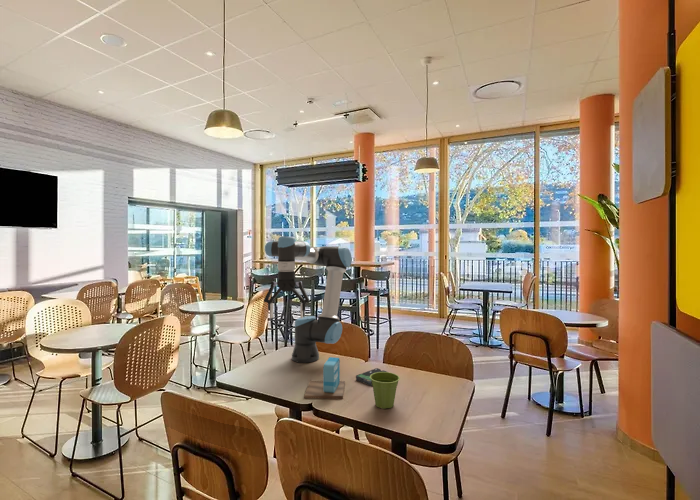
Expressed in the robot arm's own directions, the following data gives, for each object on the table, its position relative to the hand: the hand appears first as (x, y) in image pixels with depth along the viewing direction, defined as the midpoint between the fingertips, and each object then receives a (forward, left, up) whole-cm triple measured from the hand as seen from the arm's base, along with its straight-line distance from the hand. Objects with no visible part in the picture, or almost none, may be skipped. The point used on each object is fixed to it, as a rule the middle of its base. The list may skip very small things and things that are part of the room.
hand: (286, 317), depth 161 cm
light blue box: (+5, +21, -30) cm, 37 cm away
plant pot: (+18, +43, -31) cm, 56 cm away
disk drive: (-9, +40, -31) cm, 51 cm away
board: (+5, +18, -31) cm, 36 cm away
